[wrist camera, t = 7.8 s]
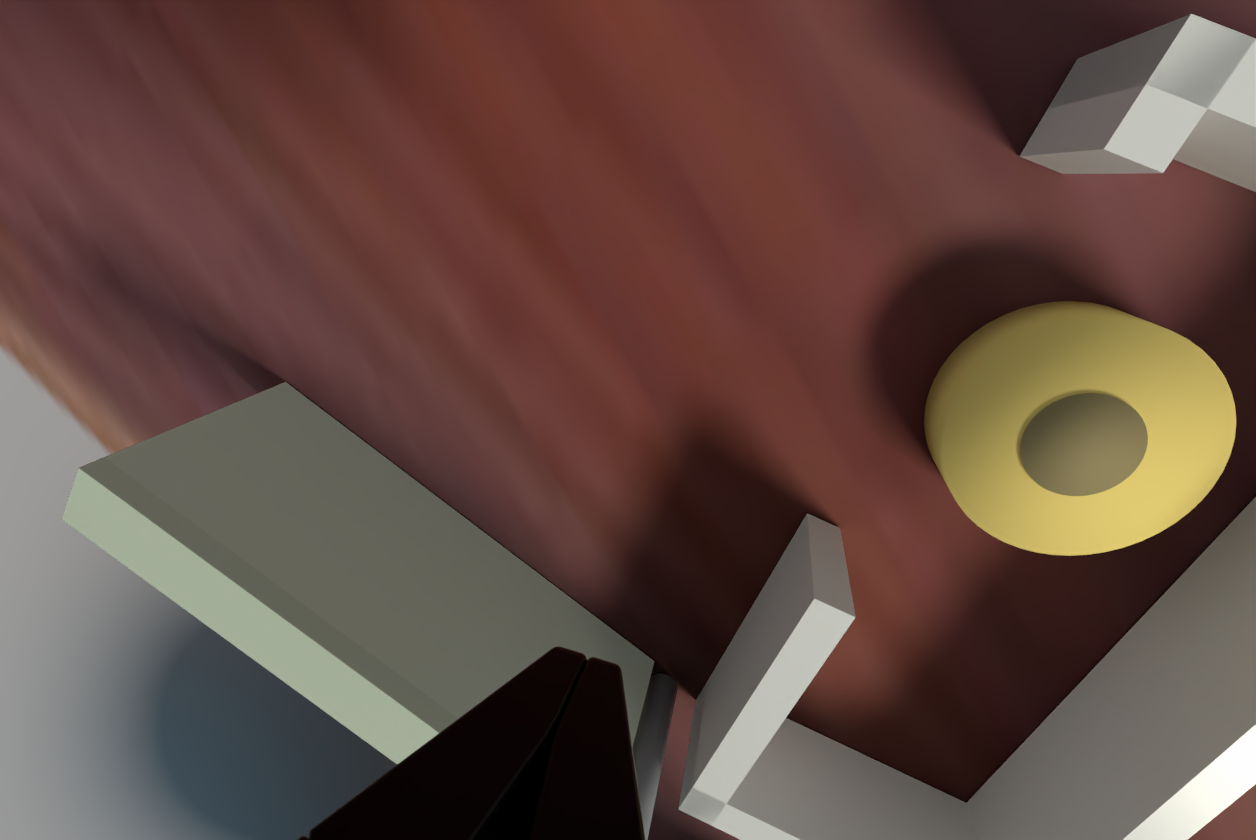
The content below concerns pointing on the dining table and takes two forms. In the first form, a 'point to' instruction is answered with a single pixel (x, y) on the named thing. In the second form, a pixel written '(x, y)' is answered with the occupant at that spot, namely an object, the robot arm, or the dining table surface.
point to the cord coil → (1078, 427)
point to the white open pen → (1117, 686)
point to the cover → (334, 568)
